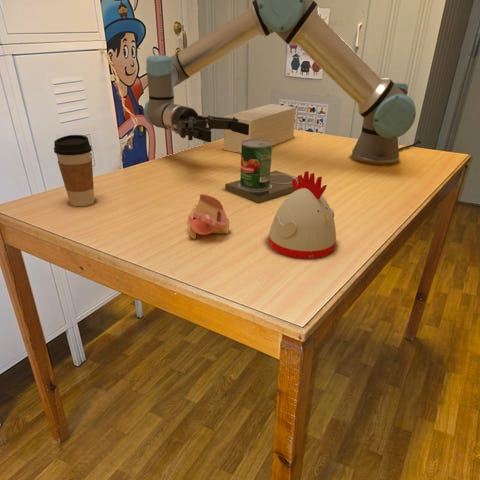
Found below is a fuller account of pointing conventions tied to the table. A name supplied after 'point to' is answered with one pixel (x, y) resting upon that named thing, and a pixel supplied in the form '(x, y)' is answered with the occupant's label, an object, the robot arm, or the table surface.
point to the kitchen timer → (304, 222)
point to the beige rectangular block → (262, 125)
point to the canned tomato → (255, 164)
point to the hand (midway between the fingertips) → (229, 133)
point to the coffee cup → (76, 168)
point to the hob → (278, 187)
